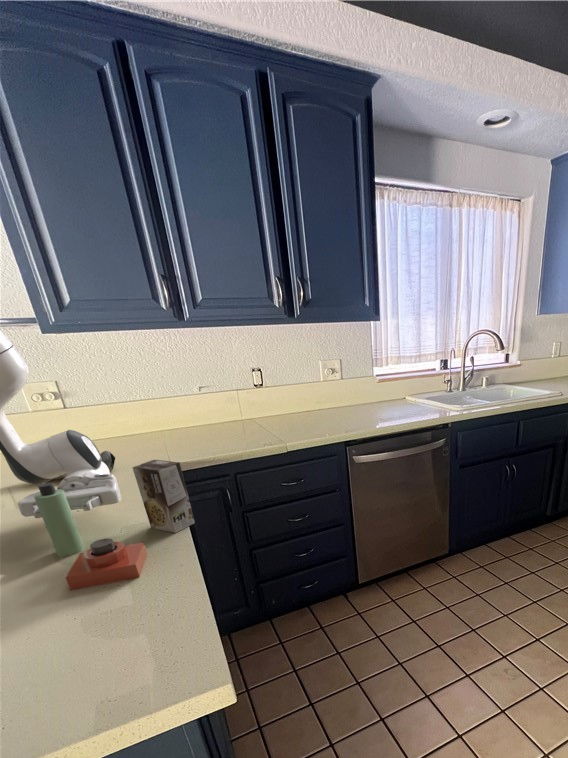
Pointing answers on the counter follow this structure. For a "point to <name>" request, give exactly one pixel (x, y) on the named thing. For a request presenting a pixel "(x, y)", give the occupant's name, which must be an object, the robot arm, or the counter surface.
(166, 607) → the counter surface
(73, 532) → the refill bottle
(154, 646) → the counter surface
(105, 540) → the grey button cap
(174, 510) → the coffee box
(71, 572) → the reddish-brown angled base
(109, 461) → the crushed plastic bottle
